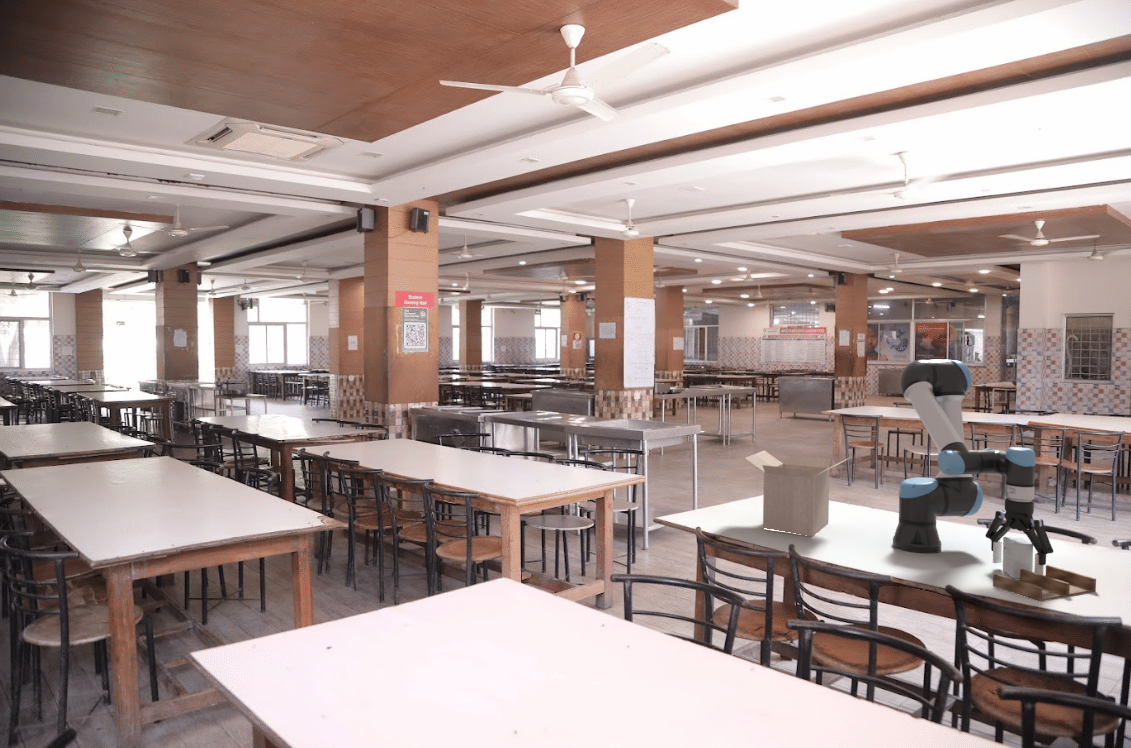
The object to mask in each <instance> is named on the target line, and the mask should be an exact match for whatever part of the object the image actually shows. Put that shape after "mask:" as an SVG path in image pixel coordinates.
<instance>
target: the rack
mask: <svg viewBox="0 0 1131 748" xmlns="http://www.w3.org/2000/svg"><path fill="white" fill-rule="evenodd" d="M992 575H993V576H992V577H993V578H992V581H993V583H992V586H993V587H995V588H998V589H1001V590H1004V591H1007V592H1010V593H1012V592H1013V594H1016V595H1018V594H1019V596H1021V595H1022V597H1024V596H1025V598H1027V597H1028V598H1027V599H1030V598H1031V600H1033V599H1034V601H1036V600H1037V601H1036V602H1039V601H1040V602H1045V601H1050V600H1056V599H1060V598H1061V599H1062V598H1066V597H1072V596H1077V595H1083V594H1088V593H1093V592H1094V593H1095V592H1096V591H1097V578H1096V577H1092V576H1088V575H1084V574H1081V573H1079V572H1078V573H1077V572H1074V571H1072V570H1067V569H1064V568H1059V567H1056V566H1053V565H1050V564H1047V565H1046V564H1045V575H1044V574H1043V575H1040V574H1037V573H1034V571H1033V572H1031V571H1027V570H1024V569H1020V578H1019V579H1016V578H1012V577H1009V576H1006V575H1002V574H999V573H996V572H995V573H993V574H992Z"/></svg>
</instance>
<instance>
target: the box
mask: <svg viewBox="0 0 1131 748" xmlns="http://www.w3.org/2000/svg"><path fill="white" fill-rule="evenodd" d="M850 458H851V457H848V458H845V459H844V460H842V461H840V462H837V463H836V464H834V465H832V466H830V463H831V460H832V459H831V458H826V457H816V456H805V455H804V456H803V455H793V454H786V456H785V459H784V462H782V461H780V460H779V459H777V458H776V457H774V456H773V455H772V454H770V453H769V452H768V451H766V450H762V451H759V452H757V453H754V454H752V455H749V456H746V457H744V458H743V459H744V460H745V461H747V462H749V463H750V464H751V465H753V466H754V467H756V468H757V469H758V470H760V471H761V472H762V473H763V497H762V498H763V502H762V503H763V506H762V507H763V509H762V510H763V511H762V515H763V516H762V529H763V528H767V529H774V530H779V531H785V532H791V533H796V534H801V535H807V536H806V537H809V536H812V537H811V538H813V537H814V536H815V534H816V533H817V534H818V533H820V532H821V529H822V530H823V529H824V528H825V527H827V525H829V512H830V511H829V509H830V508H829V505H830V503H829V502H830V470H831V469H833V468H835V467H837V466H839V465H841V464H842V463H845V461H847V460H849V459H850ZM817 534H816V535H817ZM801 535H800V536H801Z"/></svg>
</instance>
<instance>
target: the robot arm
mask: <svg viewBox="0 0 1131 748" xmlns="http://www.w3.org/2000/svg"><path fill="white" fill-rule="evenodd" d="M971 374H972V373H971V370H970V369H969V367H968V366H967V365H966V364H965V363H964V362H963V361H961V360H955V359H953V360H952V359H917V360H914V361H912V362H910V363H909V364H907V365H906V366H905V367H904V368H903V370H902V372H901V374H900V376H899V390H900V392H901V394H902V395H903V397H904V399H905V400H906V401H907V402H909V403H911V405H912V407H913V408H914V411H916V414H917V415H918V417H919V419H920V421H921V422H922V424H923V426H924V427H925V429H926V431H927V433H928V435H929V436H930V438H931V439H932V441H933V443H934V445H935V447H936V448H937V460H936V461H937V464H938V466H937V467H938V469H939V472H938V474H937V475H935V477H928V476H927V477H926V476H925V477H910V478H907V479H904V480H902V482H900V483H899V484H900V485H899V489H898V490H899V491H898V496H899V497H898V498H899V499H898V500H899V501H898V525H897V526H896V529H895V533H894V536H893V537H892V546H893V547H894V548H896V549H899V550H902V551H906V552H907V551H908V552H913V553H923V554H924V553H925V554H931V553H933V554H934V553H938V552H941V551H942V541H941V540H940V535H939V532H938V528H937V517H938V518H939V517H941V518H942V517H960V518H961V517H965V516H966V517H968V516H973V515H975V514H977V513H978V512H979V510H980V509H981V507H982V505H983V499H984V493H983V489H982V488H981V486H980V484H979V483H978V482H976V481H974V476H973V475H999V476H1002V477H1005V490H1004V492H1005V493H1004V494H1005V495H1004V496H1005V497H1006V498H1005V499H1004V510H1005V511H1004V510H996V511H995V515H994V519H993V520H992V522H991V524H990V525H989V527H988V530H987V531H986V533H985V538H987V539H989V540H990V542H991V543H990V544H991V545H990V546H991V548H990V549H991V552H992V564H999V563H1001V564H1002V552H1003V542H1002V541H1001V539H1002V538H1003V537H1005V535H1006V534H1007V533H1008V532H1009V531H1011V530H1016V531H1019V532H1023V534H1025V535H1026V536H1027V538H1028V540H1029V542H1030V543H1032V544H1033V548H1034V549H1035V551H1036V553H1034V571H1033V572H1034V573H1037V574H1040V575H1044V566H1046V564H1047V554H1053V553H1054V549H1053V546H1052V544H1051V542H1050V538H1049V536H1048V535H1047V531H1046V528H1045V525H1044V520H1043V519H1042V518H1041V519H1039V518H1037V519H1035V518H1033V514H1034V513H1035V512H1034V511H1035V502H1034V501H1033V500H1034V499H1035V482H1036V481H1035V479H1036V478H1035V477H1036V465H1037V462H1036V451H1034V449H1032V448H1028V447H1021V446H1020V447H1019V446H1012V447H1011V446H1009V447H1008V448H1006V451H1005V450H1001V449H998V448H990V447H987V448H983V449H973V450H972V449H968V448H967V447H966V443H965V442H966V441H965V432H964V431H965V430H964V423H963V422H964V421H963V412H962V401H963V400H964V399H965V398H966V393H967V392H969V390H971V385H972V382H973V381H972V375H971ZM1004 519H1005V520H1006V521H1005V522H1004ZM1003 522H1004V523H1003ZM1002 523H1003V524H1002ZM1001 525H1002V526H1001ZM1000 526H1001V527H1000Z"/></svg>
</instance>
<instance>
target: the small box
mask: <svg viewBox="0 0 1131 748" xmlns="http://www.w3.org/2000/svg"><path fill="white" fill-rule="evenodd" d="M1002 538H1003V539H1002V541H1003V542H1002V571H1003V572H1005V573H1006V574H1007V575H1008V576H1010V578H1012V579H1020V569H1024V570H1027V571H1031V572H1034V571H1033V567H1034V566H1033V565H1034V564H1033V562H1034V556H1033V555H1034V546H1033V544H1032V543H1031V541H1028V540H1026V539H1025V538H1023V537H1015V536H1014V537H1011V536H1003V537H1002Z"/></svg>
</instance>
